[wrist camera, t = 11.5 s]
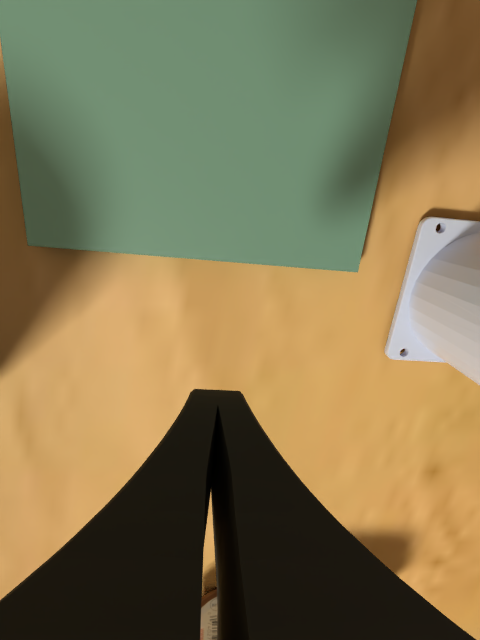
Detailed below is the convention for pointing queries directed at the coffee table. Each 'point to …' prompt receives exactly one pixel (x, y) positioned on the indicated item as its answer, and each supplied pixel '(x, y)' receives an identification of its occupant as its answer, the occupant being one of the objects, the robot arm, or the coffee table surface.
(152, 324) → the coffee table surface
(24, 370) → the coffee table surface
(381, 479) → the coffee table surface
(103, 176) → the board
